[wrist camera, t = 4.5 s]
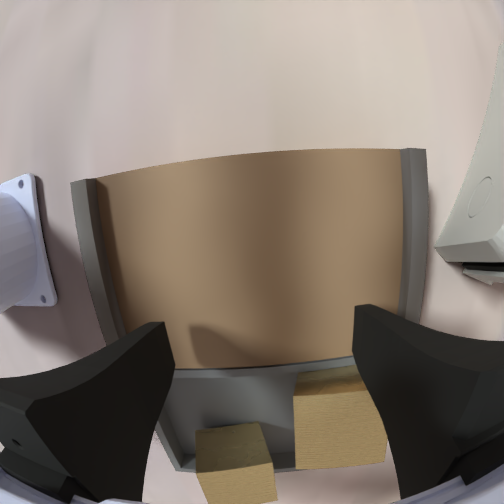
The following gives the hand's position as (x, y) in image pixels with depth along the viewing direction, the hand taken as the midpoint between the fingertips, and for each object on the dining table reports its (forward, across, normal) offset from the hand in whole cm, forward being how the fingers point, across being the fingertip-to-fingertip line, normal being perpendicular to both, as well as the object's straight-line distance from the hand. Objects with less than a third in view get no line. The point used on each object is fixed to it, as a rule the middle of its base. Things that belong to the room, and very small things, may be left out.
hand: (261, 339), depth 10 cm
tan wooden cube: (+1, -3, +3) cm, 5 cm away
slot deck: (+4, 0, -2) cm, 5 cm away
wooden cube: (+1, +2, +8) cm, 9 cm away
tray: (+4, 0, +8) cm, 9 cm away
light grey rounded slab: (+4, -15, -8) cm, 18 cm away
